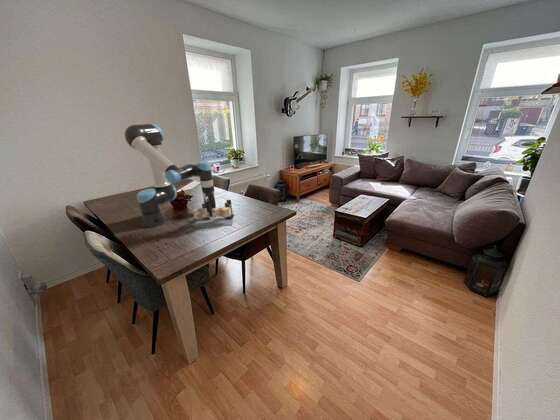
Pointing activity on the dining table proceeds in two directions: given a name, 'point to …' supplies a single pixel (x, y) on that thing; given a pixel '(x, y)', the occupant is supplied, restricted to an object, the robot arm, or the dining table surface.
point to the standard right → (230, 208)
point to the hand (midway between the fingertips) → (213, 218)
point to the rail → (216, 211)
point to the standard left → (205, 207)
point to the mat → (214, 223)
